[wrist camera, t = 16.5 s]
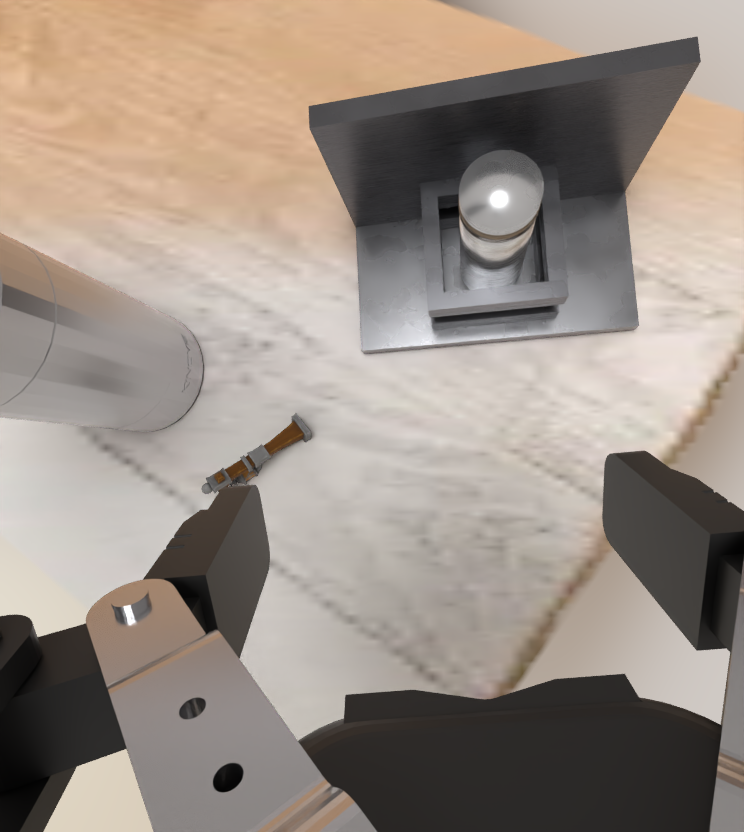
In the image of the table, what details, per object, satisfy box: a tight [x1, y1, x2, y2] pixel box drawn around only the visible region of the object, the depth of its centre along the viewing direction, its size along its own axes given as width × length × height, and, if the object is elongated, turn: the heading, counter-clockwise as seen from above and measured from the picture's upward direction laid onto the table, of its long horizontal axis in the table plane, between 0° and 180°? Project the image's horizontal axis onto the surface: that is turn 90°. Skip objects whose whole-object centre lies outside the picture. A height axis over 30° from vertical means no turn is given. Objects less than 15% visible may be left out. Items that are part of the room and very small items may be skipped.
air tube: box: [458, 150, 544, 290], centre depth 30 cm, size 4×4×10 cm
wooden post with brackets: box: [202, 413, 311, 494], centre depth 36 cm, size 2×8×4 cm, turn 128°
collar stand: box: [309, 37, 700, 354], centre depth 30 cm, size 18×12×12 cm, turn 93°
